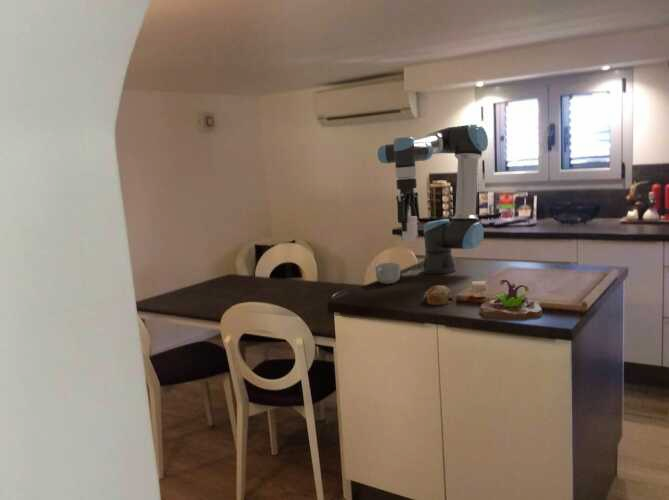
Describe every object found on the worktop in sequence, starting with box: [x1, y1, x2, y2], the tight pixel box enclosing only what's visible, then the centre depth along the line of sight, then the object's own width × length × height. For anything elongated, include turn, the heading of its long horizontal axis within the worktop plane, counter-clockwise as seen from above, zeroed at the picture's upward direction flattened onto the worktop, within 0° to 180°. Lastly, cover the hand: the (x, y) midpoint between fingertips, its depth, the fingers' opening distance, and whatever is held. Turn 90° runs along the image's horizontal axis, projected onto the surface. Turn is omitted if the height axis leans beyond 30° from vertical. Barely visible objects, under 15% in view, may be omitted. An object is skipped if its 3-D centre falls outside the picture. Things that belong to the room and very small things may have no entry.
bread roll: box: [423, 284, 454, 306], centre depth 219 cm, size 10×10×8 cm
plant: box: [479, 279, 543, 321], centre depth 198 cm, size 20×20×11 cm
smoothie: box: [404, 206, 418, 244], centre depth 232 cm, size 6×6×14 cm
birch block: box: [470, 280, 488, 292], centre depth 223 cm, size 5×5×5 cm
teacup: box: [374, 262, 401, 285], centre depth 258 cm, size 14×11×8 cm
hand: (410, 238), depth 233 cm, fingers closed on smoothie, 6 cm apart
